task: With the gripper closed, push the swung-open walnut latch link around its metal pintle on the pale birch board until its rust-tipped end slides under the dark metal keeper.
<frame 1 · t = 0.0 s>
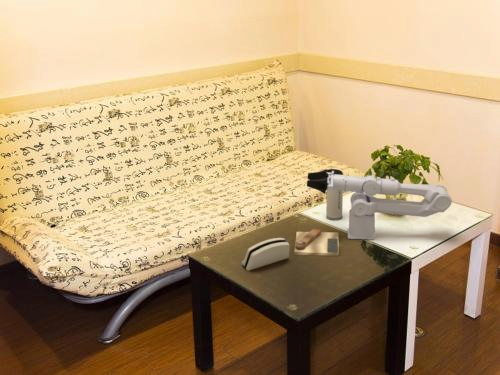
hand: (307, 179, 214), 22 cm above the table, tool horizontal, fingers open, 7 cm apart
latch link: (307, 238, 212), point 2 cm above the table, hinge at 65.0°
travel mug: (333, 217, 235), on the table
latch board: (316, 244, 212), on the table
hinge: (267, 263, 201), on the table
keeper: (332, 251, 207), resting on latch board
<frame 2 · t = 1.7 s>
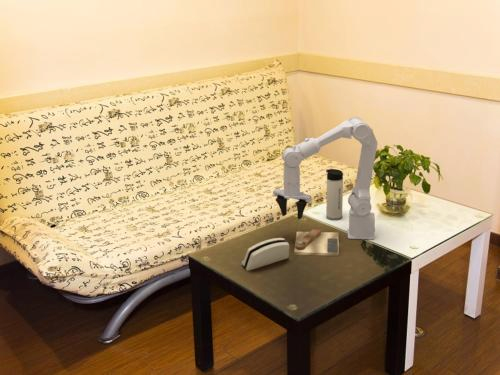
hand: (292, 216, 213), 9 cm above the table, tool pointing down, fingers open, 6 cm apart
nothing on the table moved.
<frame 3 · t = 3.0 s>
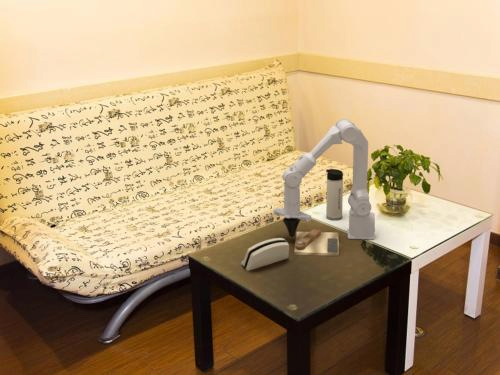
hand: (292, 235, 216), 2 cm above the table, tool pointing down, fingers closed
nothing on the table moved.
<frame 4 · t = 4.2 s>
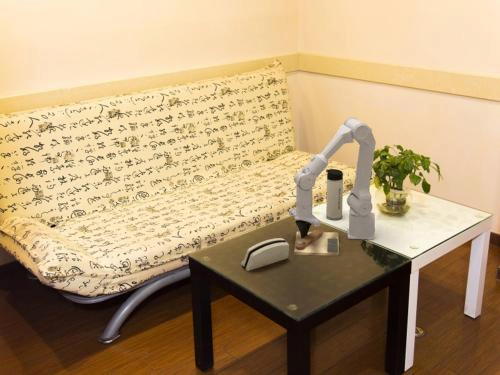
hand: (304, 238, 214), 2 cm above the table, tool pointing down, fingers closed, pressing on latch link
latch link: (308, 238, 212), point 2 cm above the table, hinge at 60.9°, touching gripper
everything else where it was.
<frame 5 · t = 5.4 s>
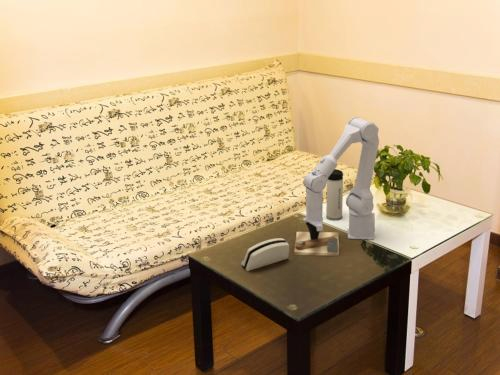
hand: (314, 241, 211), 2 cm above the table, tool pointing down, fingers closed, pressing on latch link
latch link: (315, 242, 209), point 2 cm above the table, hinge at 23.4°, touching gripper
everything else where it was.
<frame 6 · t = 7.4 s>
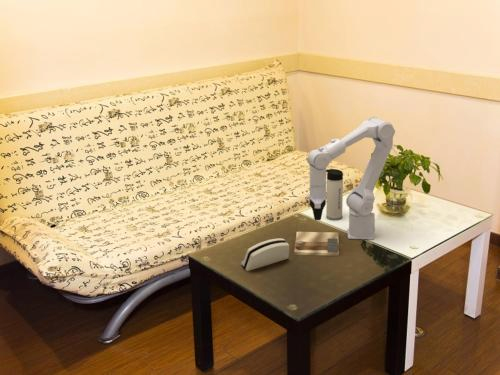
hand: (317, 219, 210), 9 cm above the table, tool pointing down, fingers closed
latch link: (317, 244, 207), point 2 cm above the table, hinge at 1.5°
everything else where it was.
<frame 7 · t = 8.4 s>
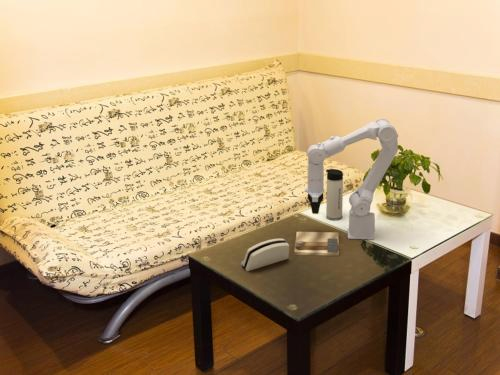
hand: (315, 213, 216), 9 cm above the table, tool pointing down, fingers closed
nothing on the table moved.
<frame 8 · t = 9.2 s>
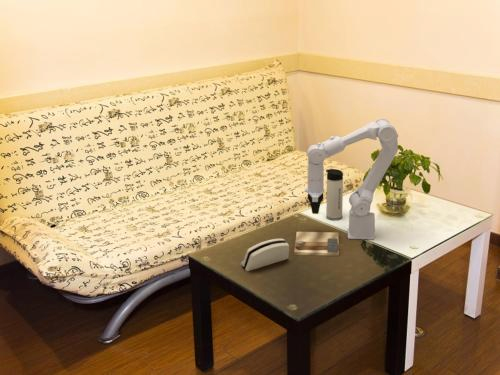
hand: (315, 213, 216), 9 cm above the table, tool pointing down, fingers closed
nothing on the table moved.
at the end: latch link at +2° (first picture: +65°); travel mug moved 0.2 cm from its start; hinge moved 0.7 cm from its start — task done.
